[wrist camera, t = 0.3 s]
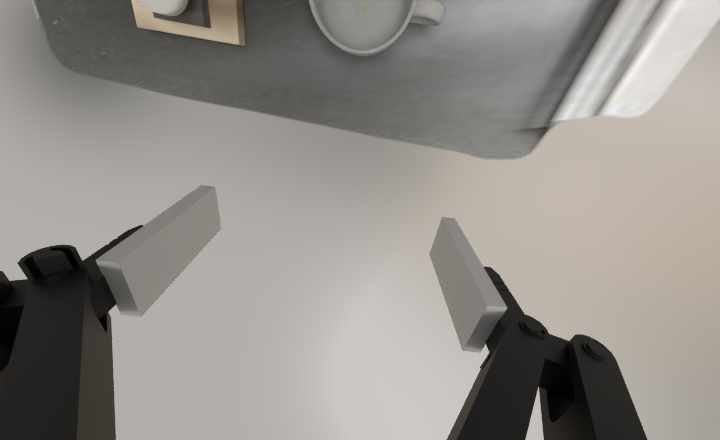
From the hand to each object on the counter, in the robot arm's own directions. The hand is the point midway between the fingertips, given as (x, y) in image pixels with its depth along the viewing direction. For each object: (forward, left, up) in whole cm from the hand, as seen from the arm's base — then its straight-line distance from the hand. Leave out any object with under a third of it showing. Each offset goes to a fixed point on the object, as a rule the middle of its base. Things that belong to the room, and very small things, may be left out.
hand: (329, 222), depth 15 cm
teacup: (-14, +1, -27) cm, 31 cm away
